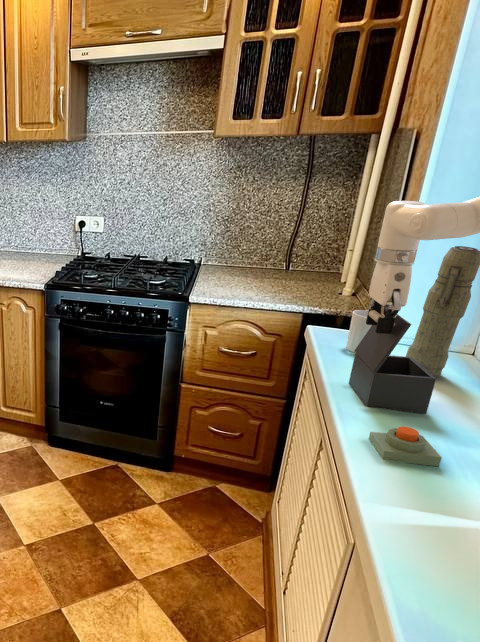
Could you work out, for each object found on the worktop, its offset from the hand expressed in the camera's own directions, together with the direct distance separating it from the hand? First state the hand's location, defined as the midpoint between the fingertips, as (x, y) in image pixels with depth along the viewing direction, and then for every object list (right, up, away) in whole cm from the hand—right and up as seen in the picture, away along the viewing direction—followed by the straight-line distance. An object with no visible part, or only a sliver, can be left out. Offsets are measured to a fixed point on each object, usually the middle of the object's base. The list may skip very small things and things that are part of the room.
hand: (378, 328), depth 128 cm
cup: (+18, -7, +35) cm, 40 cm away
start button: (-8, -23, -19) cm, 31 cm away
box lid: (+2, -3, +1) cm, 3 cm away
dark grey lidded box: (+5, -18, +5) cm, 19 cm away
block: (-8, -27, -18) cm, 33 cm away
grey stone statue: (+27, -12, +20) cm, 35 cm away
